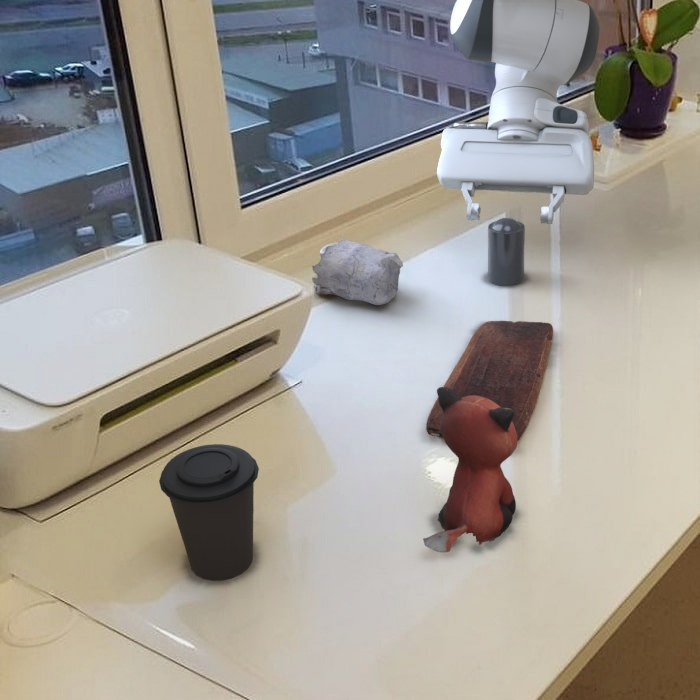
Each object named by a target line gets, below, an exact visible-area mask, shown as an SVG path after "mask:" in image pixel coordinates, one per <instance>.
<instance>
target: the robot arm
mask: <svg viewBox="0 0 700 700" xmlns="http://www.w3.org/2000/svg"><path fill="white" fill-rule="evenodd" d="M600 29H601V27H600V23H599V20H598V18H597V14H596V13H595V11H594V9H593V7H592V6H591V4H589V3H585V2H584V1H581V0H456V1H455V3H454V5H453V8H452V12H451V16H450V22H449V36H450V38H451V40H452V42H453V44H454V45H455V47H456V49H457V50H458V51H459V52H460V54H461V55H462V56H463V57H464V58H465V60H468V61H477V62H483V63H489V64H490V63H495V66H494V79H495V87H494V89H493V91H492V94H491V97H490V102H489V103H490V104H489V111H488V118H487V121H472V122H471V121H470V122H466V121H455V122H454V123H452V124H450V125H448V126H446V127H445V128H444V129H443V131H442V133H441V139H440V148H441V152H440V156H439V159H438V164H437V168H436V177H437V179H438V182H439V183H440V185H441V186H442V188H443V189H445V190H455V191H456V190H458V191H461V193H462V196H463V199H464V201H465V203H466V205H467V208H466V218H467V220H468V221H480V218H481V216H480V215H481V212H482V208H481V204H480V203H477V202H473V200H472V198H473V197H475V191H480V192H481V191H482V192H483V191H484V192H507V193H526V194H527V193H531V194H550V195H551V194H552V198H553V199H552V200H551V202H550V203H549V204H548V205H547V206H546V205H545V206H544V205H543V206H541V207H540V212H541V213H540V217H539V218H540V224H545V225H553V223H554V215H555V213H556V212H557V211H558V209H559V208H560V207H561V206H562V204H563V203H564V202H565V197H566V195H575V196H576V195H577V196H588V194H590V193H591V192H592V191H593V189H594V187H595V159H594V147H593V141H592V138H591V137H590V121H589V119H588V116H587V113H586V112H585V111H583V110H580V109H577V108H574V107H571V106H568V105H564V104H562V103H560V102H558V90H559V88H560V86H566V85H568V84H570V83H571V82H573V81H574V80H576V79H578V78H579V77H581V76H582V75H583V74H585V73H587V71H588V70H589V69H590V68H591V67H592V65H593V63H594V62H595V58H596V55H597V51H598V45H599V38H600Z"/></svg>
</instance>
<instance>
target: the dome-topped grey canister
mask: <svg viewBox="0 0 700 700" xmlns="http://www.w3.org/2000/svg"><path fill="white" fill-rule="evenodd" d="M525 241H526V226H525V223H523V222H521V221H519V220H516V219H514V218H512V217H502V218H499V219H497V220H496V221H493V222H491V223H489V224H488V226H487V280H488V281H489V282H490V283H491V284H493V285H498V286H501V287H502V286H503V287H504V286H505V287H507V286H508V287H509V286H516V285H519V284H521V283H522V282H524V279H525V250H526V249H525V244H526V243H525Z"/></svg>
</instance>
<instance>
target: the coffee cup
mask: <svg viewBox="0 0 700 700" xmlns="http://www.w3.org/2000/svg"><path fill="white" fill-rule="evenodd" d="M259 471H260V468H259V465H258V463H257V460H256V459H255V458H254V457H253V456H252V455H251V454H250V453H249V452H248V451H247V450H245V449H243V448H240V447H239V446H235V445H230V444H225V443H224V444H221V443H215V444H205V445H200V446H199V445H198V446H194V447H191V448H189V449H186V450H183V451H182V452H180V453H178V454H176V455H175V456H174V457H172V458H171V459H170V460H169V461H168V462H167V463H166V464H165V466H164V467H163V470H162V471H161V473H160V477H159V479H158V483H159V487H160V490H161V491H162V493H164V494H165V495H166V496H167V497H168V499H169V502H170V505H171V508H172V511H173V514H174V516H175V521H176V524H177V527H178V530H179V534H180V536H181V540H182V543H183V546H184V550H185V553H186V555H187V559H188V562H189V565H190V568H191V569H190V570H191V571H192V572H193V573H194V575H196V576H197V577H199V578H201V579H204V580H208V581H225V580H230V579H233V578H236V577H238V576H240V575H242V574H243V573H244V572H245V571H247V570H248V569H249V568H250V566H251V565H252V563H253V557H254V492H255V491H254V489H255V488H254V486H255V485H254V483H255V481H256V480H257V479H258V475H259Z"/></svg>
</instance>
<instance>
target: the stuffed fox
mask: <svg viewBox="0 0 700 700" xmlns="http://www.w3.org/2000/svg"><path fill="white" fill-rule="evenodd" d="M436 394H437V398H438V400H439V405H440V407H441V408H442V410H443V417H442V421H441V425H440V431H441V434H442V436H443V438H442V439H443V441H444V443H445V445H446V446H447V447H448V448H449V450H450V451H451V452H452V453H453V454H454V455H455V456H456V457H457V460H458V461H457V465H456V467H455V470H454V474H453V477H452V484H451V486H450V488H449V493H448V497H447V499H446V502H445V503H444V504H443V506H442V508H441V509H440V510H439V513H438V517H437V521H438V522H439V524H440V527H441V529H442V531H439V532H436V533H434V534H432V535H430V536H428V537H424V538H422V541H423V545H424V546H425V547H427V548H428V549H430V550H432V551H435V552H437V553H450V552H451V549H452V545H456V542H457V540H458V538H459V537H461V536H463V535H464V534H466V535H468V534H472V537H475V540H476V543H478V545H479V546H480V545H482V544H483V543H487V542H488V543H492V542H494V541H495V539H497V538H499V537H501V536H502V535H503V533H505V532H506V531H507V530H508V529H509V527H510V525H511V524H512V521H513V517H514V514H515V513H516V509H517V501H516V498H515V495H514V492H513V487H512V485H511V482H509V480H508V478H506V476H505V474H504V472H503V469H502V464H503V463H504V462H505V461H506V460H508V459H509V458H510V457H511V456H512V455H513V454H514V452H515V451H516V450H517V446H518V442H517V434H516V430H515V427H514V424H513V422H512V419H513V417H514V414H515V411H514V410H512V409H509V408H501V407H500V406H499V405H497V404H496V403H494V402H493V401H491V400H489V399H487V398H484V397H481V396H476V395H472V396H466V397H463V398H462V397H460V396H459V395H458V394H457V393H456V392H455V391H454V390H452V389H450V388H448V387H444V386H440V387H437V389H436Z"/></svg>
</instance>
